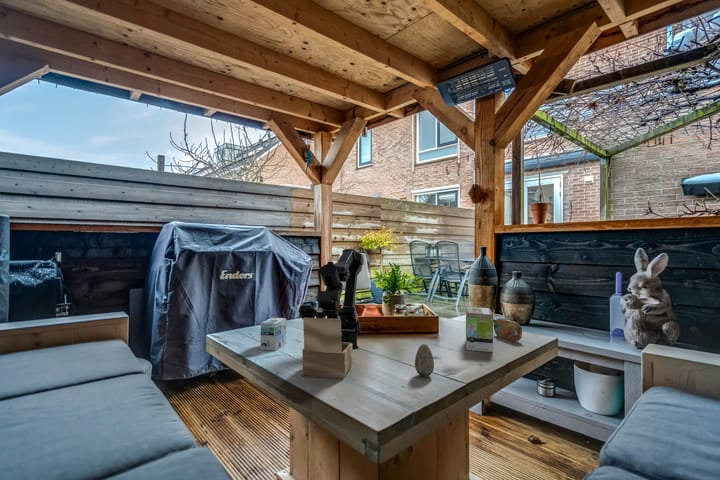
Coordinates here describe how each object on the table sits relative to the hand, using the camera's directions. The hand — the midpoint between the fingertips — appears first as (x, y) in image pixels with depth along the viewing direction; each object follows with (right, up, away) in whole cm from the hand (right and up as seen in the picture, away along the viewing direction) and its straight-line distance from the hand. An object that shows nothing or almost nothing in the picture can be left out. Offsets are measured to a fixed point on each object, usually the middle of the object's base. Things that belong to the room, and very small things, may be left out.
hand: (322, 336), depth 107 cm
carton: (+1, -13, +5) cm, 14 cm away
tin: (+76, -14, +44) cm, 89 cm away
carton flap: (0, +1, 0) cm, 1 cm away
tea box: (+60, -13, +33) cm, 70 cm away
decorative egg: (+32, -13, +1) cm, 34 cm away
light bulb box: (-24, -14, +33) cm, 43 cm away
